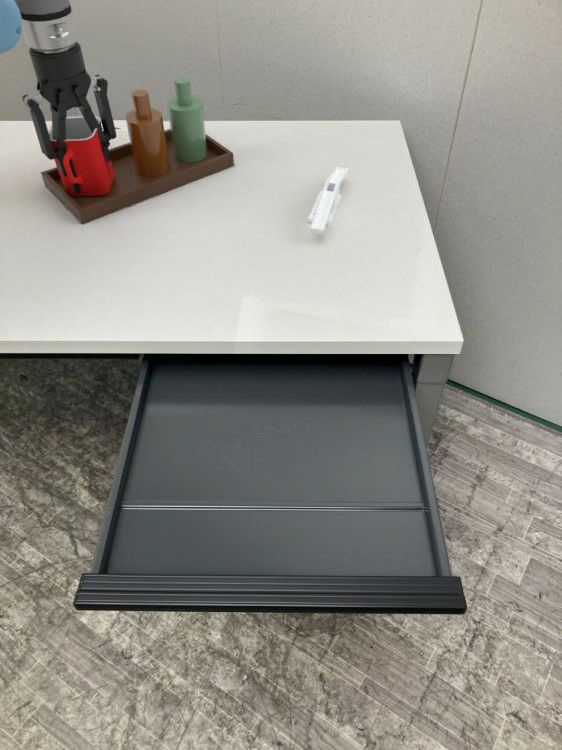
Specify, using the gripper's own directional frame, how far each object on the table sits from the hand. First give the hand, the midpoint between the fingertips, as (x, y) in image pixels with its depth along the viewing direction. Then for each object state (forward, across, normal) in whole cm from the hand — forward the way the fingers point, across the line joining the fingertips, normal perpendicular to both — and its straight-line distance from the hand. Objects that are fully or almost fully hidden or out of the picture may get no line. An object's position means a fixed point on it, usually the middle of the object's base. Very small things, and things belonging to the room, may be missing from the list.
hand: (90, 184), depth 106 cm
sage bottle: (+1, +21, 0) cm, 21 cm away
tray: (+2, +10, 0) cm, 10 cm away
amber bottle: (+1, +12, 0) cm, 13 cm away
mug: (+1, -1, 0) cm, 1 cm away
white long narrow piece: (+2, +30, -30) cm, 42 cm away
